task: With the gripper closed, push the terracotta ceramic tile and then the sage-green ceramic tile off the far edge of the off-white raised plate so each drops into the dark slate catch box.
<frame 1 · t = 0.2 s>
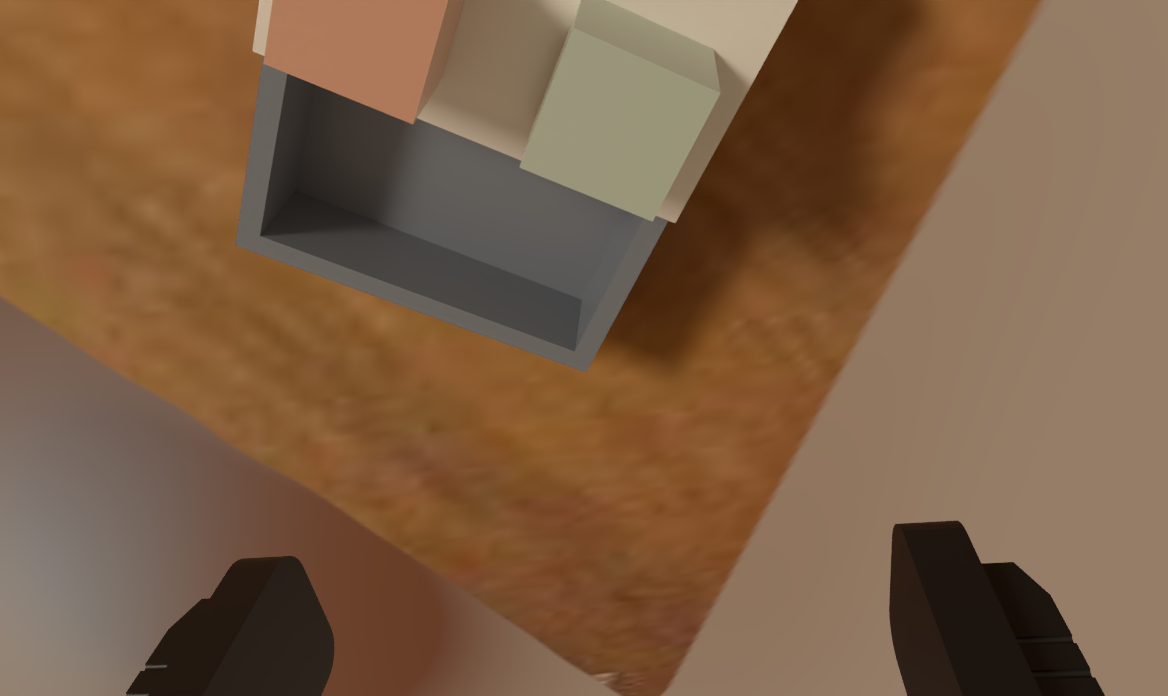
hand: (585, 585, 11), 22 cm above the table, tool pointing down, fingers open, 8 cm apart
catch box: (467, 177, 31), on the table
tile b: (621, 84, 24), point 5 cm above the table, touching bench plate
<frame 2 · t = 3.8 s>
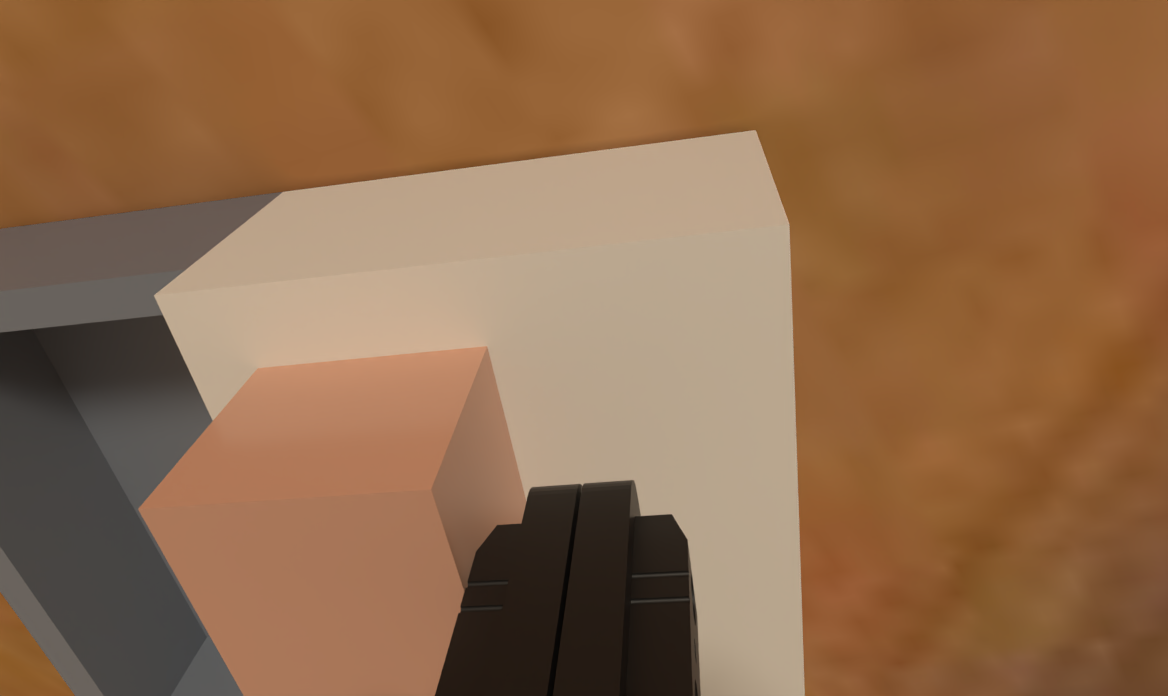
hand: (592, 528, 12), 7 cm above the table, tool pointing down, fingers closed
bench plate: (565, 437, 20), on the table
tile a: (402, 454, 14), point 5 cm above the table, touching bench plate, gripper
catch box: (233, 461, 21), on the table
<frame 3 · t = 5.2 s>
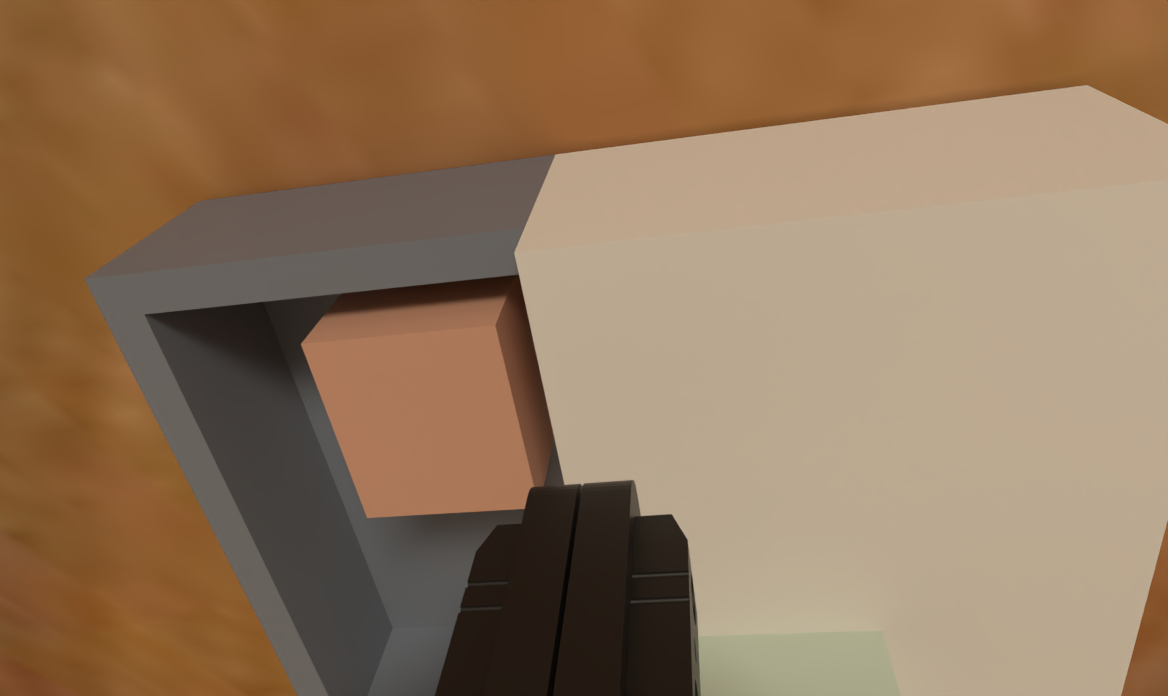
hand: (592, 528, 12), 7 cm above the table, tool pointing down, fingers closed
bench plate: (813, 416, 19), on the table
tile a: (535, 364, 16), point 2 cm above the table, tilted 90°, touching catch box
catch box: (449, 443, 20), on the table
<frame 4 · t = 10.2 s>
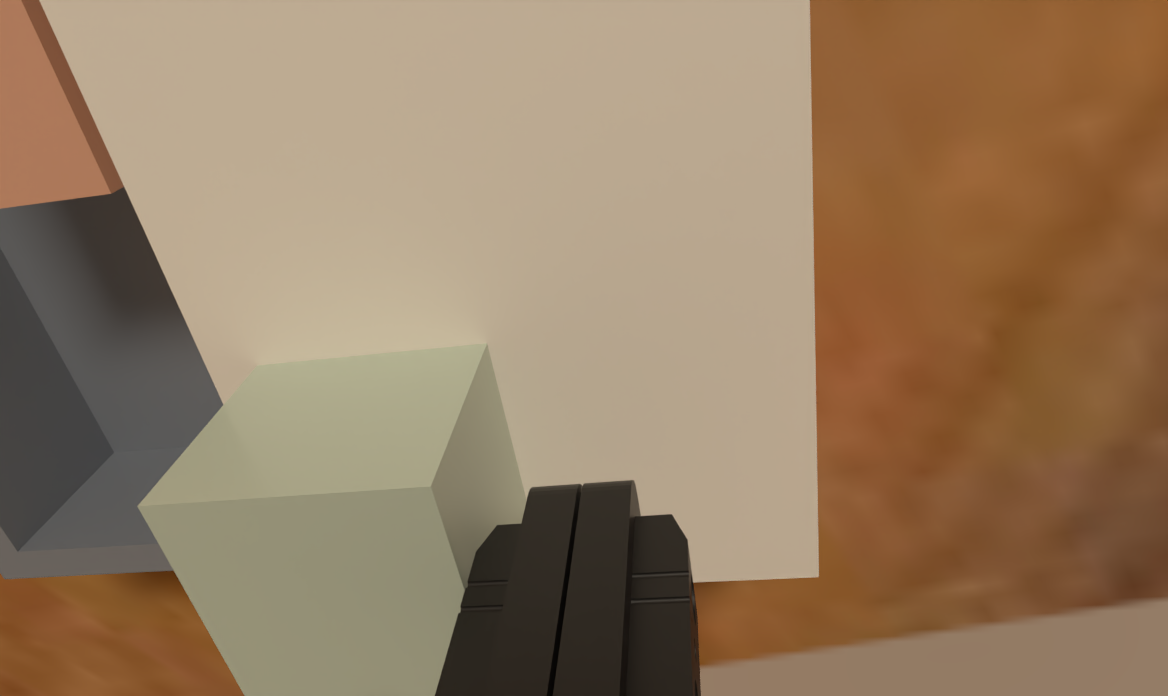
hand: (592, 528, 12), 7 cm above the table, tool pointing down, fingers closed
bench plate: (523, 158, 16), on the table
tile a: (130, 40, 13), point 2 cm above the table, tilted 90°, touching catch box
catch box: (129, 209, 18), on the table
tile b: (402, 451, 14), point 5 cm above the table, touching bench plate, gripper
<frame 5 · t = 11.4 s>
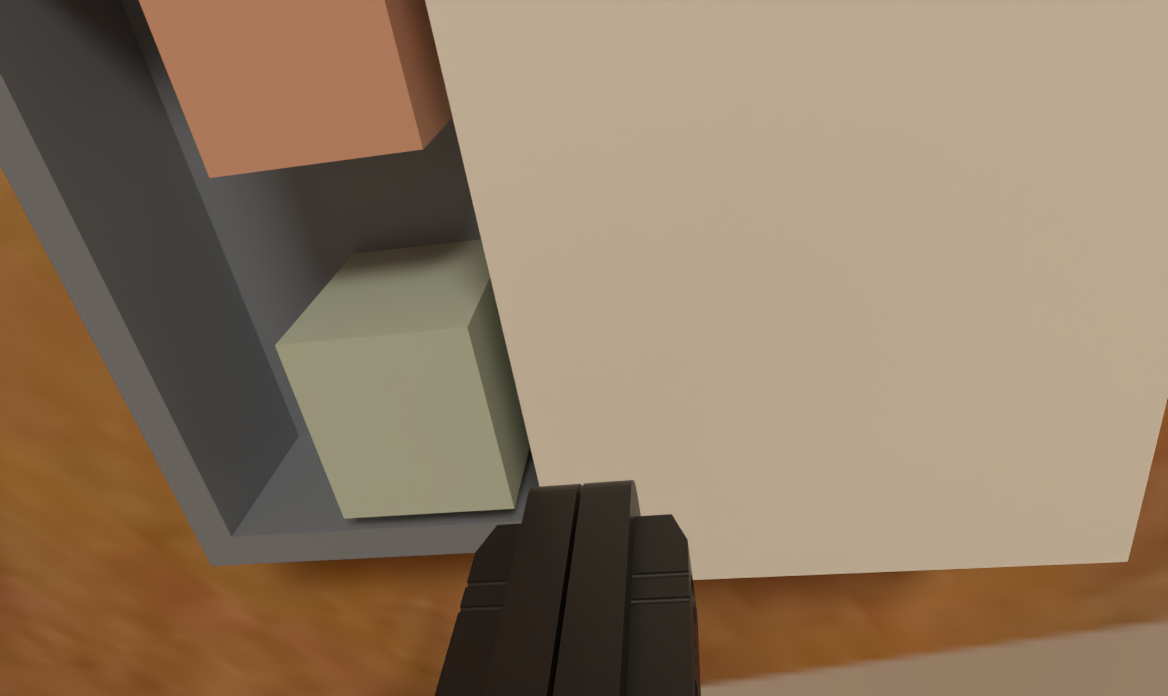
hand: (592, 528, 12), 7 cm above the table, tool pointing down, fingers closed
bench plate: (783, 122, 15), on the table
catch box: (350, 178, 17), on the table
tile b: (511, 366, 16), point 2 cm above the table, tilted 90°, touching catch box
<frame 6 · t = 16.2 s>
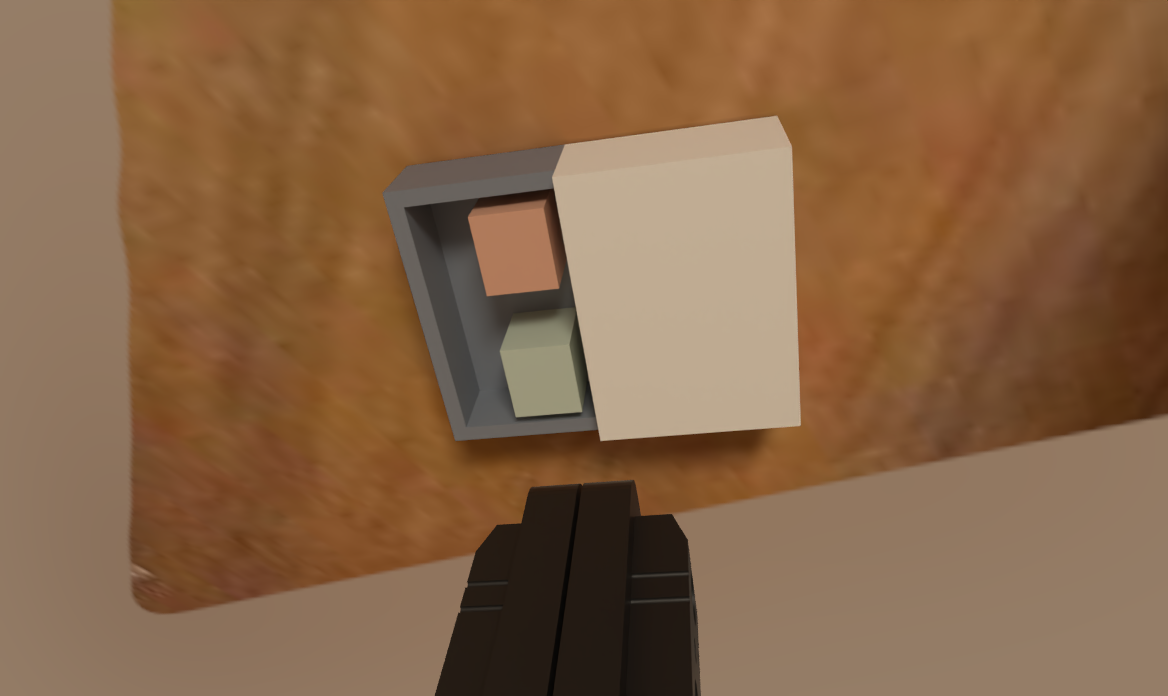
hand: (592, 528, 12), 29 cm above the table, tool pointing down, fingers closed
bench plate: (683, 265, 41), on the table
tile a: (556, 232, 38), point 2 cm above the table, tilted 90°, touching catch box
catch box: (513, 284, 42), on the table
tile b: (579, 358, 41), point 2 cm above the table, tilted 90°, touching catch box
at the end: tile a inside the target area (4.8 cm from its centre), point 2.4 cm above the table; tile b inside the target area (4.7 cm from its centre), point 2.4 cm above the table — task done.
